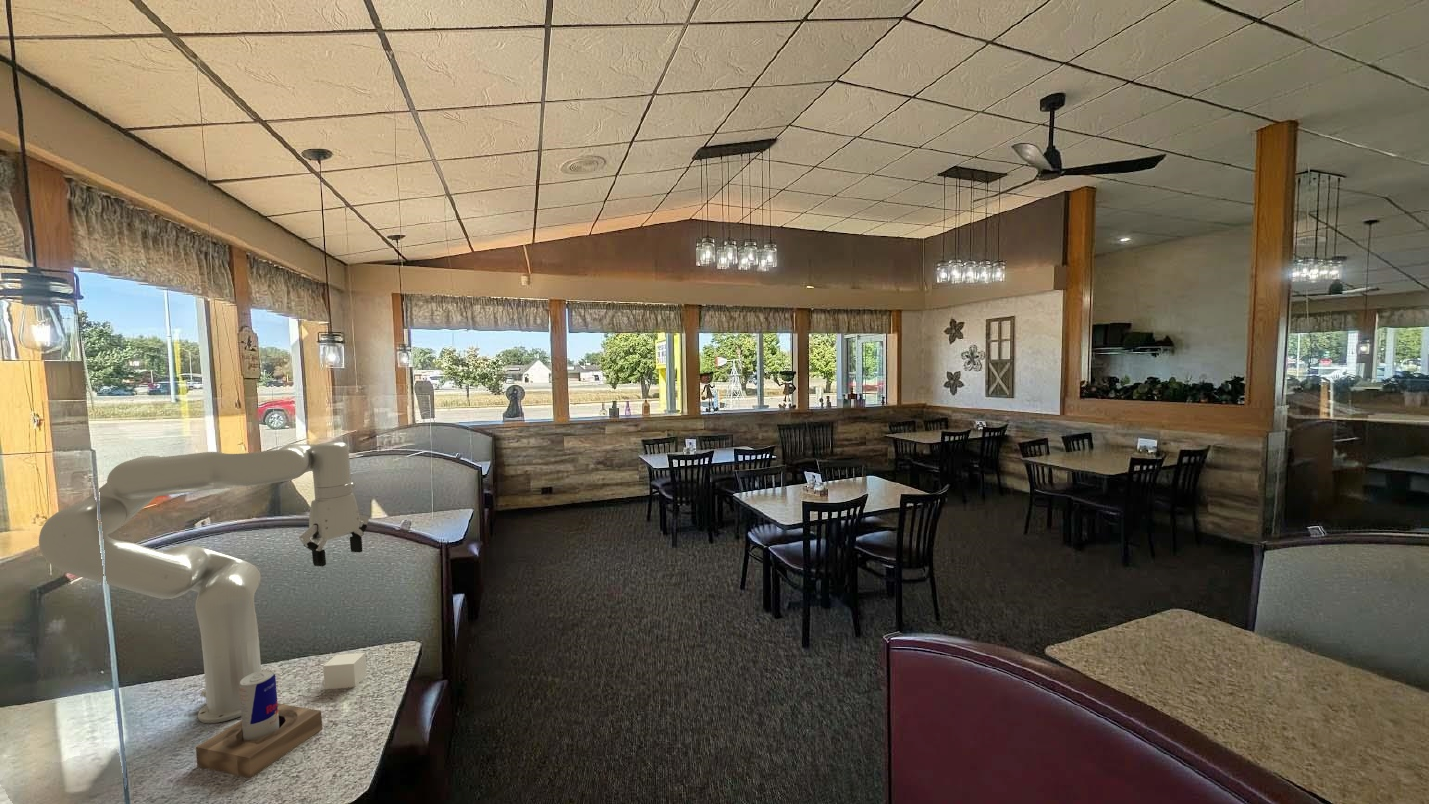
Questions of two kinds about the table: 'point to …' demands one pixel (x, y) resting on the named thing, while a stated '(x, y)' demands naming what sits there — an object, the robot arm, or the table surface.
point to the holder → (258, 743)
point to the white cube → (345, 671)
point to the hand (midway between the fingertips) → (338, 558)
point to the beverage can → (259, 705)
